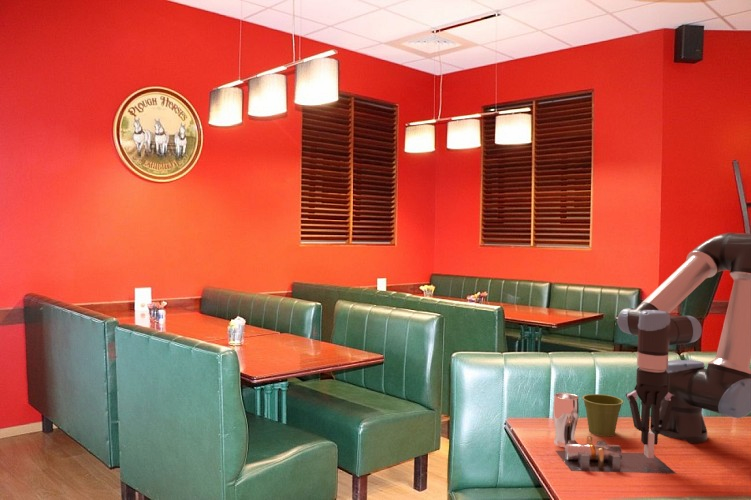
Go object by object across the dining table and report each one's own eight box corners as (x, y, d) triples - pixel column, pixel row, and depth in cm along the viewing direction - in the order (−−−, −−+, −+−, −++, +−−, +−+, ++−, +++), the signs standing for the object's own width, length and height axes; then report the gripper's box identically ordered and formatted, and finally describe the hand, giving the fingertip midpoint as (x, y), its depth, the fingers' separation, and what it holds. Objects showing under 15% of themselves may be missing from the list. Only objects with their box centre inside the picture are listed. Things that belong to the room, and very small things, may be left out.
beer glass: (578, 452, 174) (580, 400, 173) (552, 450, 175) (554, 398, 174) (575, 444, 180) (577, 393, 180) (551, 442, 182) (552, 391, 181)
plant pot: (612, 429, 195) (613, 393, 195) (628, 442, 183) (630, 405, 183) (575, 428, 195) (576, 393, 194) (589, 441, 183) (590, 404, 182)
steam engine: (652, 456, 172) (652, 435, 172) (676, 477, 158) (677, 454, 158) (555, 454, 172) (556, 433, 172) (571, 474, 158) (571, 451, 158)
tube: (617, 461, 167) (615, 446, 169) (622, 459, 163) (620, 444, 165) (565, 460, 167) (563, 445, 169) (570, 458, 163) (568, 442, 165)
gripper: (670, 365, 168) (666, 451, 169) (622, 365, 168) (618, 450, 169) (683, 372, 160) (679, 461, 161) (633, 371, 160) (630, 460, 161)
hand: (648, 455), depth 165 cm, fingers closed
